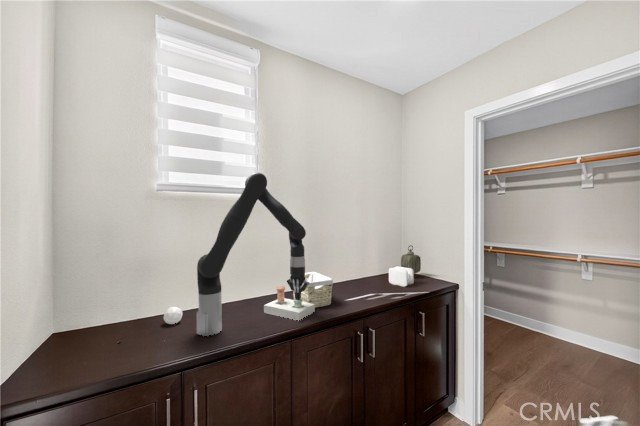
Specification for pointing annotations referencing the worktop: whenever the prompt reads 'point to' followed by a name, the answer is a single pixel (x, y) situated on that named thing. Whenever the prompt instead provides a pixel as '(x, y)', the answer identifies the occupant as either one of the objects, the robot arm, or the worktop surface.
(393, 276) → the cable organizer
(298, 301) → the sage plunger
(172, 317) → the geometric ball
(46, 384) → the worktop surface
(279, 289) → the terracotta plunger
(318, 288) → the storage basket
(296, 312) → the panel
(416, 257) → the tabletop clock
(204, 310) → the robot arm
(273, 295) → the worktop surface
